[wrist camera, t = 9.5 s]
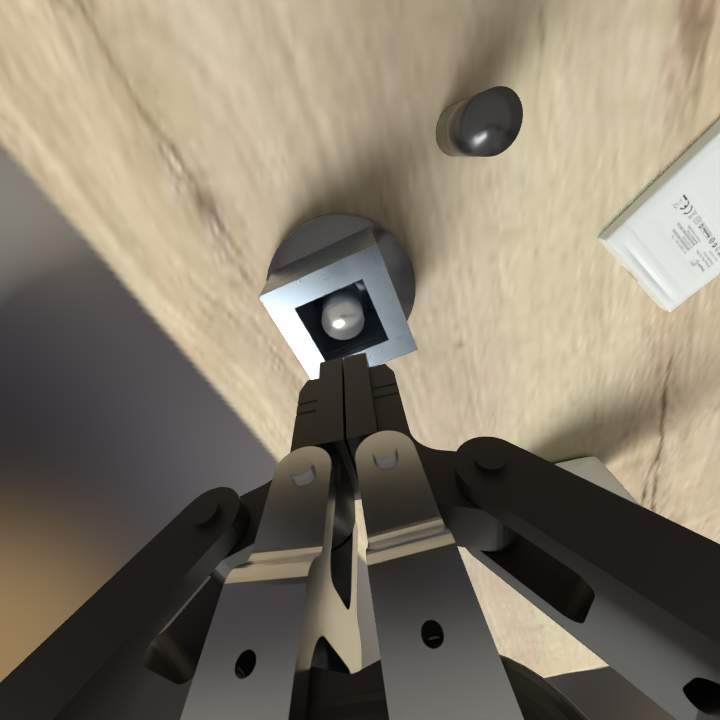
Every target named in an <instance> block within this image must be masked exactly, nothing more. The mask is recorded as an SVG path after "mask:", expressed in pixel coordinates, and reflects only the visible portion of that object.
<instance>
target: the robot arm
mask: <svg viewBox="0 0 720 720" xmlns="http://www.w3.org/2000/svg"><path fill="white" fill-rule="evenodd" d="M296 414H297V416H296V420H295V426H294V432H293V439H292V445H291V452H290V453H289V454H288V455H287V456H285V457H284V458H283V459H282V460H281V461H280V463H279V464H278V466H277V467H276V469H275V472H274V475H273V478H272V480H271V481H269V482H268V483H266V484H265V485H263V486H261V487H259V488H257V489H254V490H253V491H250V492H248V493H246V494H244V495H242V496H240V497H239V496H238V495H237V493H236V492H235V491H234V490H233V489H231V488H227V487H219V488H215V489H211V490H209V491H207V492H205V493H203V494H201V495H200V496H199V497H197V498H196V499H195V500H194V501H192V502H191V503H190V504H189V505H188V506H187V507H186V508H185V509H184V510H183V511H182V512H181V513H180V514H179V515H177V516H176V517H175V518H174V519H173V520H172V521H171V522H170V523H169V524H168V525H167V526H166V527H165V528H164V529H163V530H162V531H160V532H159V534H157V535H156V536H155V537H154V538H153V539H152V540H151V541H150V542H149V543H148V544H147V545H146V546H145V547H144V548H143V549H141V550H140V551H139V552H138V553H137V554H136V555H135V556H134V557H133V558H132V559H131V560H130V561H129V562H128V563H127V564H126V565H125V566H123V567H122V568H121V569H120V570H119V571H118V572H117V573H116V574H115V575H114V576H113V577H112V578H111V579H110V580H109V581H108V582H106V583H105V584H104V585H103V586H102V587H101V588H100V589H99V590H98V591H97V592H96V593H95V594H94V595H93V596H92V597H91V598H89V599H88V600H87V601H86V602H85V603H84V604H83V605H82V606H81V607H80V608H79V609H78V610H77V611H76V612H75V613H74V614H73V615H71V616H70V617H69V619H67V620H66V621H65V622H64V623H63V624H62V625H61V626H60V627H59V628H58V629H57V630H56V631H55V632H53V633H52V634H51V635H50V636H49V637H48V638H47V639H46V640H45V641H44V642H43V643H42V644H41V645H40V646H39V647H38V648H37V649H35V650H34V651H33V653H31V654H30V655H29V656H28V657H27V658H26V659H25V660H24V661H23V662H22V663H21V664H20V665H19V666H18V667H17V668H15V669H14V670H13V671H12V672H11V673H10V674H9V675H8V676H7V677H6V678H5V679H4V680H3V681H2V682H1V683H0V720H590V719H589V718H587V716H586V715H585V714H584V713H583V712H582V711H580V709H578V708H577V707H576V706H575V705H574V704H573V703H572V702H571V701H570V700H569V699H568V698H567V697H566V696H565V695H564V694H563V693H562V692H560V691H559V690H558V689H557V688H555V687H554V686H553V685H552V684H550V683H549V682H548V681H546V680H545V679H544V678H543V677H541V676H540V675H538V674H537V673H535V672H534V671H532V670H530V669H529V668H527V667H526V666H524V665H522V664H520V663H518V662H516V661H514V660H512V659H510V658H508V657H505V656H502V655H499V653H498V651H497V648H496V646H495V643H494V640H493V638H492V635H491V633H490V630H489V627H488V625H487V622H486V620H485V617H484V615H483V612H482V609H481V607H480V604H479V602H478V599H477V596H476V594H475V591H474V589H473V586H472V583H471V581H470V578H469V576H468V573H467V571H466V568H465V565H464V563H463V560H462V558H461V555H460V552H459V550H458V547H457V546H460V547H465V548H466V549H467V550H468V551H469V552H470V553H471V554H472V555H473V556H474V557H475V558H476V559H478V560H479V561H480V562H481V563H483V564H484V565H485V566H486V567H488V568H489V569H490V570H491V571H492V572H494V573H495V574H496V575H497V576H499V577H500V578H501V579H502V580H504V581H505V582H506V583H507V584H509V585H510V586H511V587H512V588H514V589H515V590H516V591H517V592H519V593H520V594H521V595H522V596H524V597H525V598H526V599H527V600H529V601H530V602H531V603H532V604H534V605H535V606H536V607H537V608H539V609H540V610H541V611H542V612H544V613H545V614H546V615H547V616H549V617H550V618H551V619H552V620H554V621H555V622H556V623H557V624H559V625H560V626H561V627H562V628H563V629H565V630H566V631H567V632H568V633H570V634H571V635H572V636H573V637H575V638H576V639H577V640H578V641H580V642H581V643H582V644H583V645H585V646H586V647H587V648H588V649H590V650H591V651H592V652H593V653H595V654H596V655H597V656H598V657H600V658H601V659H602V660H603V661H605V662H606V663H607V664H608V665H610V666H611V667H612V668H614V669H615V670H616V671H617V672H618V673H620V674H621V675H622V676H623V677H625V678H626V679H627V680H628V681H630V682H631V683H632V684H633V685H635V686H636V687H637V688H638V689H639V690H641V691H642V692H643V693H644V694H646V695H647V696H648V697H650V698H651V699H652V700H653V701H655V702H656V703H657V704H658V705H659V706H661V707H662V708H663V709H665V710H666V711H667V712H668V713H669V714H671V715H672V716H673V717H674V718H676V719H677V720H720V544H718V543H716V542H714V541H712V540H710V539H708V538H706V537H704V536H702V535H700V534H697V533H695V532H693V531H691V530H689V529H687V528H685V527H683V526H681V525H679V524H677V523H675V522H673V521H671V520H669V519H666V518H664V517H662V516H660V515H658V514H656V513H654V512H652V511H650V510H648V509H646V508H644V507H642V506H640V505H638V504H635V503H633V502H631V501H629V500H627V499H625V498H623V497H621V496H619V495H617V494H615V493H613V492H611V491H609V490H607V489H604V488H602V487H600V486H598V485H596V484H594V483H592V482H590V481H588V480H586V479H584V478H582V477H580V476H578V475H575V474H573V473H571V472H569V471H567V470H565V469H563V468H561V467H559V466H557V465H555V464H553V463H551V462H549V461H547V460H544V459H542V458H540V457H538V456H536V455H534V454H532V453H530V452H528V451H526V450H524V449H522V448H520V447H518V446H516V445H513V444H511V443H509V442H507V441H505V440H502V439H499V438H495V437H477V438H473V439H470V440H468V441H466V442H465V443H463V444H462V445H461V446H460V447H459V448H458V450H457V452H456V451H444V450H435V449H431V448H428V447H426V446H424V445H422V444H420V443H419V442H417V441H416V440H415V439H414V438H413V436H412V435H411V433H410V431H409V427H408V424H407V420H406V416H405V412H404V408H403V405H402V401H401V397H400V394H399V390H398V386H397V382H396V378H395V374H394V372H393V371H392V370H391V369H390V368H389V367H388V366H387V365H386V364H382V365H377V366H373V367H369V362H368V358H367V355H366V352H365V353H360V354H356V355H351V356H347V357H344V360H343V358H338V359H333V360H329V361H324V362H320V368H319V378H318V379H313V380H308V381H307V382H306V384H305V385H304V387H303V388H302V390H301V391H300V394H299V400H298V407H297V413H296ZM359 499H361V500H362V507H363V513H364V520H365V526H366V532H367V539H368V548H367V549H366V560H367V568H368V575H369V582H370V589H371V595H372V602H373V610H374V617H375V623H376V631H377V637H378V645H379V652H380V658H381V659H380V660H379V661H377V662H375V663H373V664H371V665H369V666H367V667H366V668H364V669H362V670H361V643H360V634H359V628H358V623H357V614H356V597H357V596H356V595H357V592H356V591H357V539H358V529H357V523H356V520H355V500H359ZM209 575H210V576H211V578H210V579H209V580H208V582H207V583H206V584H205V585H204V586H203V587H202V589H201V590H200V591H199V592H198V593H197V594H196V595H195V597H194V598H193V599H192V600H191V601H190V603H189V604H188V605H187V606H186V607H185V609H183V611H182V612H181V613H180V614H179V615H178V616H177V618H176V619H175V620H174V621H173V622H172V623H171V625H170V626H169V627H168V628H167V629H166V630H165V631H163V632H162V633H160V631H161V630H162V629H163V628H164V627H165V626H166V624H167V623H168V622H169V621H170V620H171V619H172V618H173V616H174V615H175V614H176V613H177V612H178V611H179V609H180V608H181V607H182V606H183V605H184V604H185V603H186V601H187V600H188V599H189V598H190V597H191V596H192V594H193V593H194V592H195V591H196V590H197V589H198V588H199V586H200V585H201V584H202V583H203V582H204V581H205V579H206V578H207V577H208V576H209ZM159 633H160V634H159ZM158 634H159V635H158Z"/></svg>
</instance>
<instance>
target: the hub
mask: <svg viewBox="0 0 720 720" xmlns="http://www.w3.org/2000/svg"><path fill="white" fill-rule="evenodd" d="M367 227H370V230H371V232H372V234H373V236H374V238H375V240H376V242H377V245H378V248H379V250H380V253H381V255H382V258H383V261H384V263H385V266H386V268H387V271H388V274H389V276H390V279H391V281H392V284H393V287H394V289H395V292H396V295H397V297H398V300H399V302H400V305H401V308H402V310H403V313H404V315H405V318H406V321H407V320H408V318H409V315H410V313H411V311H412V307H413V304H414V298H415V277H414V272H413V268H412V265H411V263H410V260H409V258H408V256H407V254H406V253H405V251H404V249H403V248H402V246H401V245H400V244H399V242H398V241H397V240H396V239H395V237H394V236H393V235H392V234H391V233H390V232H389V231H387V230H386V229H385V228H383V227H382V226H381V225H379V224H378V223H376V222H374V221H372V220H370V219H367V218H364V217H362V216H358V215H353V214H344V213H336V214H327V215H323V216H318V217H316V218H313V219H311V220H308V221H306V222H305V223H303V224H301V225H299V226H298V227H297V228H296V229H294V230H293V231H292V232H291V233H290V234H289V235H288V236H287V237H286V238H285V239H284V240H283V242H282V243H281V245H280V246H279V248H278V249H277V251H276V253H275V255H274V257H273V259H272V261H271V264H270V266H269V269H268V275H267V281H268V279H269V277H270V275H271V274H272V272H273V271H274V270H276V269H279V268H281V267H283V266H285V265H287V264H289V263H292V262H294V261H296V260H298V259H300V258H302V257H304V256H307V255H309V254H311V253H313V252H315V251H317V250H320V249H322V248H324V247H326V246H328V245H330V244H332V243H335V242H337V241H339V240H341V239H343V238H345V237H348V236H350V235H352V234H354V233H356V232H358V231H361V230H363V229H365V228H367ZM312 302H313V303H314V305H315V307H316V309H317V311H318V313H319V314H320V316H321V318H322V326H323V328H324V330H325V331H326V333H327V334H328V335H330V336H331V337H333V338H335V339H339V340H347V339H351V338H353V337H355V336H356V335H358V334H359V333H360V331H361V330H362V328H363V326H364V316H365V315H368V314H370V313H373V312H375V311H376V309H375V307H374V304H373V302H372V300H371V297H370V295H369V293H368V290H367V288H366V286H365V284H364V281H363V279H361V280H358V281H356V282H354V283H352V284H349V285H347V286H345V287H342V288H340V289H338V290H336V291H333V292H331V293H329V294H326V295H324V296H322V297H319V298H317V299H315V300H313V301H312Z"/></svg>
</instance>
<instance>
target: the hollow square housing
mask: <svg viewBox="0 0 720 720" xmlns="http://www.w3.org/2000/svg"><path fill="white" fill-rule="evenodd" d="M361 279H363V281H364V284H365V286H366V288H367V290H368V293H369V295H370V297H371V300H372V302H373V304H374V307H375V309H376V311H375V312H373V313H370V314H368V315H365V316H364V326H363V328H362V330H361V331H360V333H359V334H358V335H356V336H355V337H353V338H351V339H347V340H339V339H335V338H333V337H331V336H330V335H328V334H327V333H326V331H325V330H324V328H323V326H322V318H321V316H320V314H319V313H318V311H317V309H316V307H315V305H314V303H313V302H312V301H313V300H315V299H317V298H319V297H322V296H324V295H326V294H329V293H331V292H333V291H336V290H338V289H340V288H342V287H345V286H347V285H349V284H352V283H354V282H356V281H358V280H361ZM259 298H260V300H261V301H262V303H263V304H264V306H265V307H266V309H267V311H268V312H269V314H270V315H271V317H272V318H273V320H274V322H275V323H276V325H277V326H278V328H279V329H280V331H281V332H282V334H283V336H284V337H285V339H286V340H287V342H288V343H289V345H290V347H291V348H292V350H293V351H294V353H295V354H296V356H297V357H298V359H299V361H300V362H301V364H302V365H303V367H304V368H305V370H306V372H307V373H308V375H309V376H310V378H311V379H312V380H313V379H318V378H319V368H320V362H324V361H329V360H333V359H338V358H343V360H344V357H347V356H351V355H356V354H360V353H365V352H366V355H367V358H368V362H369V367H373V366H377V365H379V364H382V363H384V362H387V361H390V360H392V359H395V358H397V357H400V356H402V355H405V354H408V353H410V352H413V351H415V350H418V349H417V347H416V344H415V342H414V339H413V336H412V334H411V331H410V328H409V326H408V323H407V321H406V318H405V315H404V313H403V310H402V308H401V305H400V302H399V300H398V297H397V295H396V292H395V289H394V287H393V284H392V281H391V279H390V276H389V274H388V271H387V268H386V266H385V263H384V261H383V258H382V255H381V253H380V250H379V248H378V245H377V242H376V240H375V238H374V236H373V234H372V232H371V230H370V227H367V228H365V229H363V230H361V231H358V232H356V233H354V234H352V235H350V236H348V237H345V238H343V239H341V240H339V241H337V242H335V243H332V244H330V245H328V246H326V247H324V248H322V249H320V250H317V251H315V252H313V253H311V254H309V255H307V256H304V257H302V258H300V259H298V260H296V261H294V262H292V263H289V264H287V265H285V266H283V267H281V268H279V269H276V270H274V271H273V272H272V274H271V275H270V277H269V279H268V281H267V283H266V285H265V286H264V288H263V290H262V292H261V294H260V296H259Z"/></svg>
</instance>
